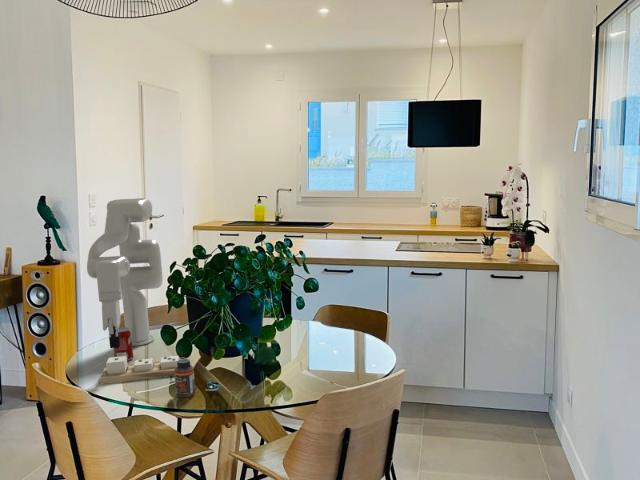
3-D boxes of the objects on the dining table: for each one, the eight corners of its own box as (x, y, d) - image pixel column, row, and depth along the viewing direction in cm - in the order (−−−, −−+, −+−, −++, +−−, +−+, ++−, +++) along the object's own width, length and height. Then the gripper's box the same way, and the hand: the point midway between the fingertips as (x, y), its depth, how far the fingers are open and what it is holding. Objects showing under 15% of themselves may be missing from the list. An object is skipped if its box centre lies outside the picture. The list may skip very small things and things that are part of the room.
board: (106, 371, 221) (105, 366, 221) (185, 362, 226) (184, 357, 226) (100, 383, 208) (99, 378, 208) (184, 374, 213) (183, 369, 213)
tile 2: (136, 370, 219) (135, 359, 219) (153, 368, 220) (152, 357, 220) (134, 376, 214) (133, 364, 213) (152, 374, 215) (151, 362, 214)
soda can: (127, 363, 229) (125, 331, 227) (111, 362, 230) (108, 331, 229) (136, 357, 236) (134, 326, 234) (120, 356, 237) (117, 326, 235)
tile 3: (162, 368, 221) (161, 356, 220) (179, 366, 222) (178, 354, 222) (161, 373, 215) (160, 361, 215) (178, 371, 216) (177, 359, 216)
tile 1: (109, 368, 217) (108, 356, 217) (127, 366, 219) (126, 355, 218) (107, 374, 212) (106, 362, 211) (125, 372, 213) (124, 360, 212)
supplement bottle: (173, 398, 192) (170, 363, 191) (180, 391, 198) (178, 357, 196) (191, 398, 191) (188, 363, 189) (198, 391, 197) (195, 357, 195)
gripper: (102, 292, 218) (107, 342, 220) (95, 301, 204) (100, 354, 206) (124, 290, 219) (128, 340, 222) (118, 299, 205) (123, 352, 207)
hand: (115, 347), depth 214 cm, fingers closed
